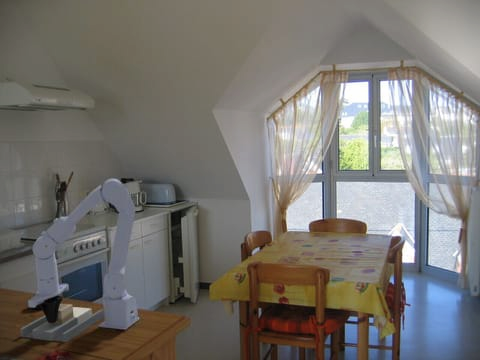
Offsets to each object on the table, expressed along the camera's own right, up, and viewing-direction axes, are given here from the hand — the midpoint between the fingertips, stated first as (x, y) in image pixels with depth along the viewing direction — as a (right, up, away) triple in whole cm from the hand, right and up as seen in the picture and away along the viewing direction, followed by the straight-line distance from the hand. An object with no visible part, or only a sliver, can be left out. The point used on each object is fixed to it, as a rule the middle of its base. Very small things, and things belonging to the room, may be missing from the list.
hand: (52, 322), depth 139 cm
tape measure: (-13, -2, +24) cm, 27 cm away
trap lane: (+2, -3, +5) cm, 6 cm away
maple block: (+1, -1, +4) cm, 4 cm away
